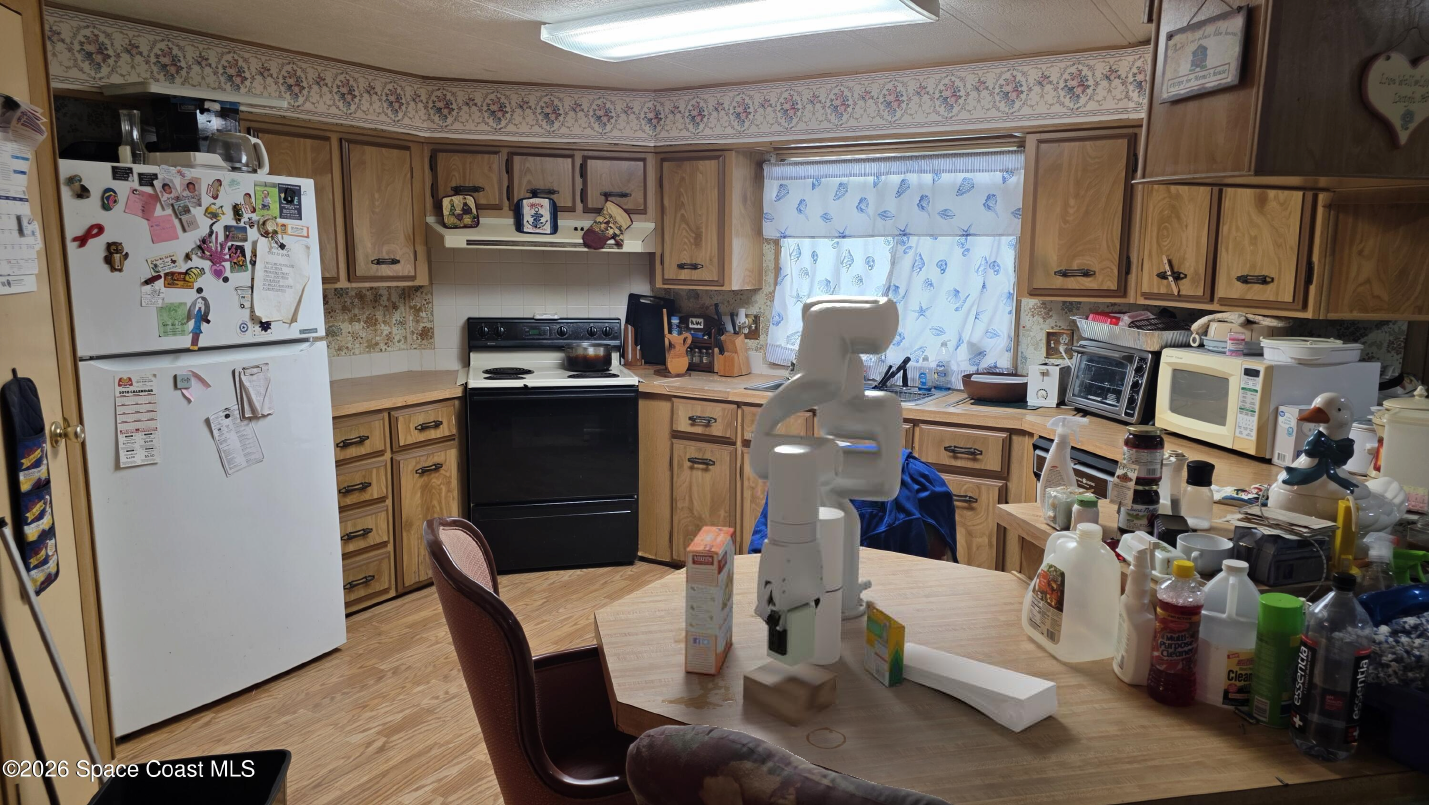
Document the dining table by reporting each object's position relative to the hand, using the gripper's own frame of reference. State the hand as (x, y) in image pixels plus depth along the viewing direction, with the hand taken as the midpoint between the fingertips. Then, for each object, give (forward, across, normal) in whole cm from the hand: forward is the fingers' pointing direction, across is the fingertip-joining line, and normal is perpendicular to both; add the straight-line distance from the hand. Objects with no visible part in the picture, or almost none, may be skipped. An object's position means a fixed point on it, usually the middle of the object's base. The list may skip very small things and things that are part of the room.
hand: (790, 646), depth 134 cm
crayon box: (+9, -18, +4) cm, 21 cm away
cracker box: (+9, -2, -20) cm, 22 cm away
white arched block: (+10, -24, +15) cm, 29 cm away
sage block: (+2, 0, 0) cm, 2 cm away
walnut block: (+10, 0, 0) cm, 10 cm away
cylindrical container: (+9, -16, -8) cm, 20 cm away
